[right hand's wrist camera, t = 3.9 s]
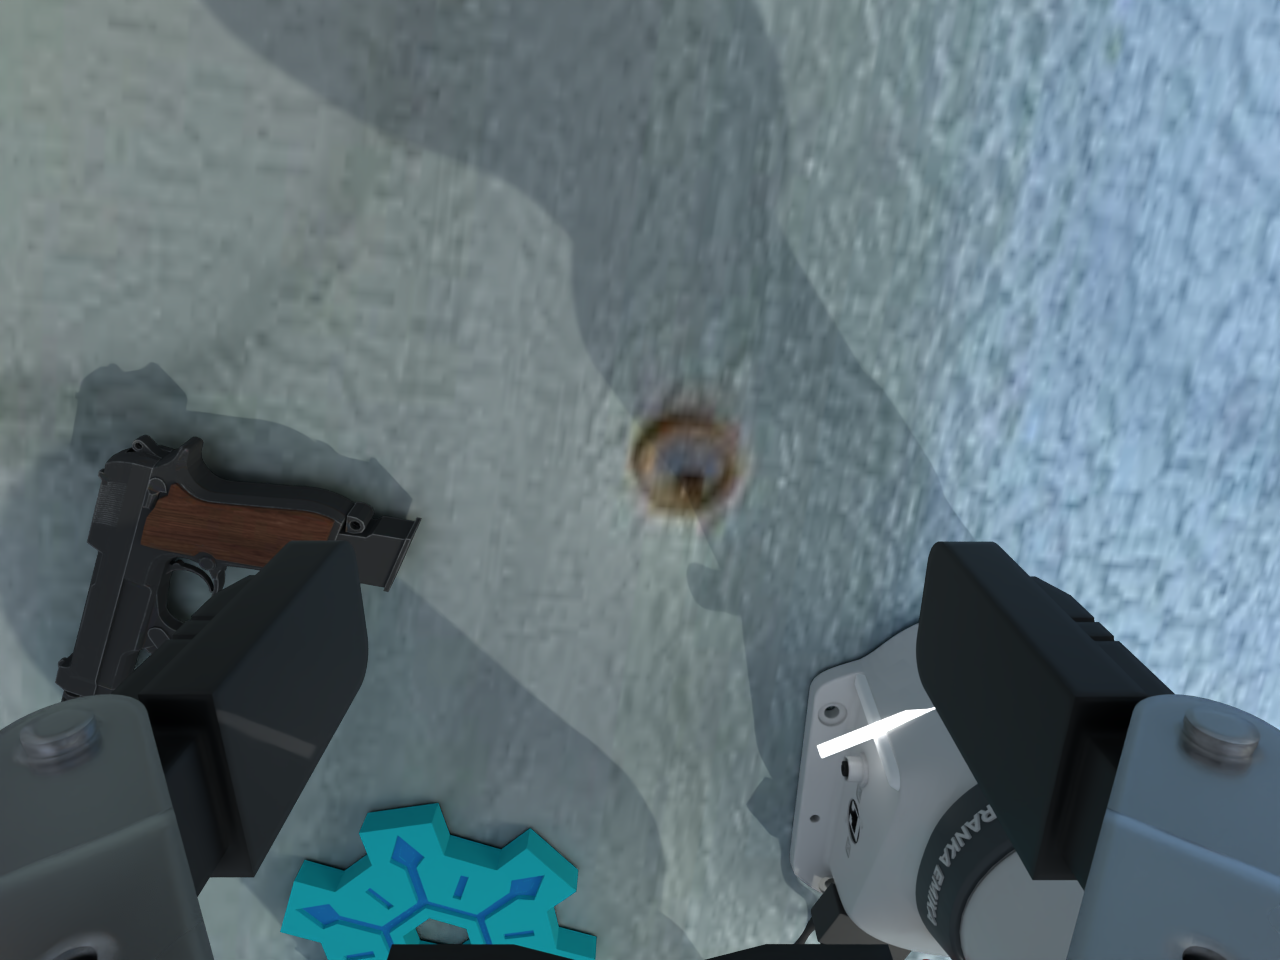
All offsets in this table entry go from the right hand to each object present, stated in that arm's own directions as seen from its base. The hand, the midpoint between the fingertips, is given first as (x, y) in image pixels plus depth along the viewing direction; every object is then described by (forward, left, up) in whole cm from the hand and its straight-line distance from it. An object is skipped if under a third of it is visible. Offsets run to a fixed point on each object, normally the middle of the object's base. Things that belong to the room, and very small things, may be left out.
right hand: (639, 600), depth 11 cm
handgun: (+17, -23, -29) cm, 41 cm away
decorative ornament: (+41, -13, -29) cm, 52 cm away
